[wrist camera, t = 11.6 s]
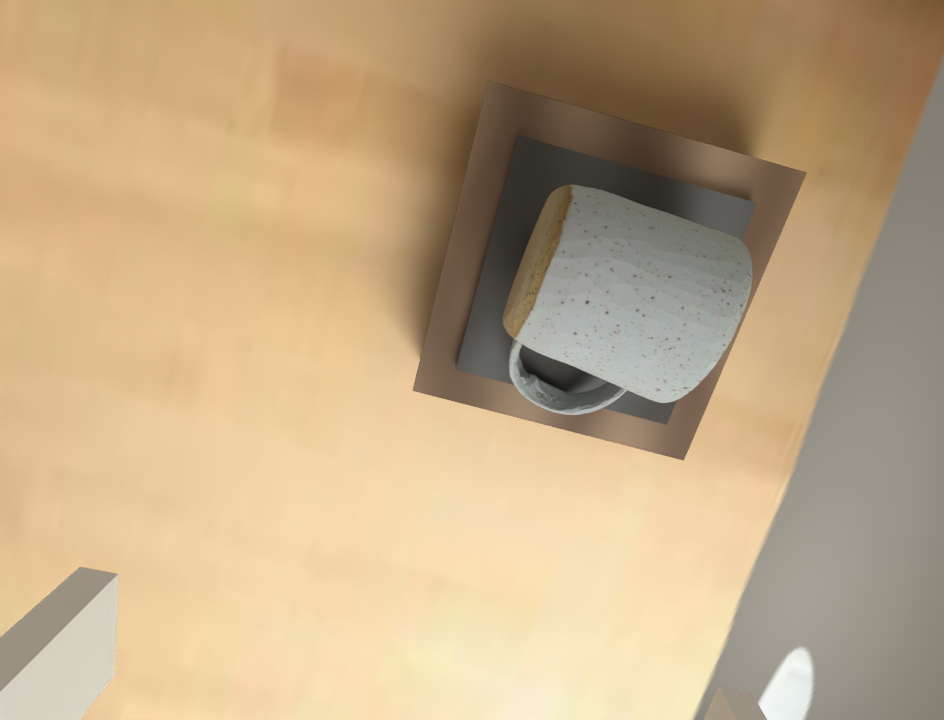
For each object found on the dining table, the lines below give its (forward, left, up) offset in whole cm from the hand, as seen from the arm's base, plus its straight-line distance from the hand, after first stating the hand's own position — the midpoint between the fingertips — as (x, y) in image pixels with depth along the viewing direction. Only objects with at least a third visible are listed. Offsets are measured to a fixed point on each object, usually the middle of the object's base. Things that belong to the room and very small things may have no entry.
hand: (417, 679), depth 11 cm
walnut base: (+5, +8, -23) cm, 24 cm away
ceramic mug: (+5, +7, -17) cm, 19 cm away
